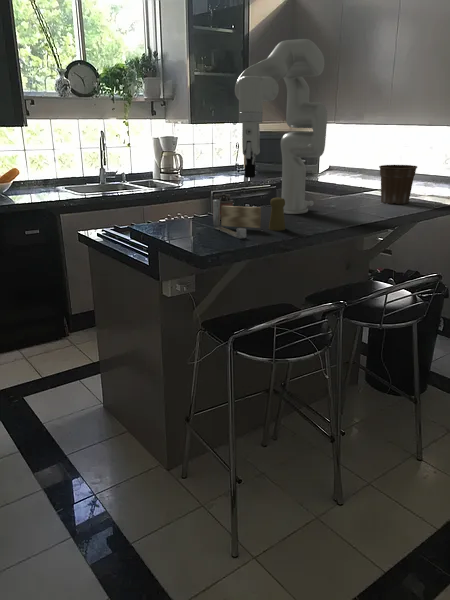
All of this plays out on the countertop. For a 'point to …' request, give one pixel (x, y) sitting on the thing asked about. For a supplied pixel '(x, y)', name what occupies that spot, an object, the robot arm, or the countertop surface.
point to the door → (241, 216)
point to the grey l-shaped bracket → (239, 232)
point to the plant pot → (396, 183)
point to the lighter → (223, 201)
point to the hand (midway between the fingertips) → (250, 176)
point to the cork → (277, 214)
